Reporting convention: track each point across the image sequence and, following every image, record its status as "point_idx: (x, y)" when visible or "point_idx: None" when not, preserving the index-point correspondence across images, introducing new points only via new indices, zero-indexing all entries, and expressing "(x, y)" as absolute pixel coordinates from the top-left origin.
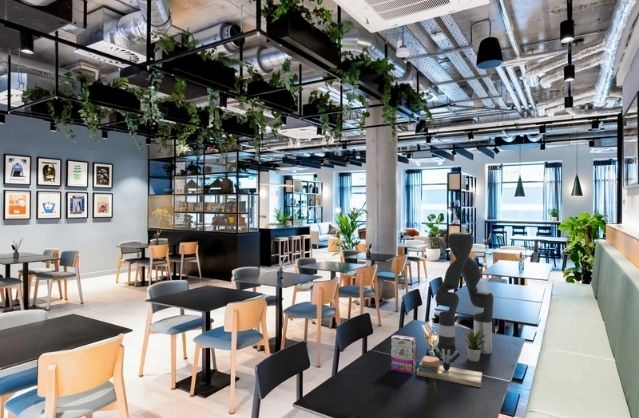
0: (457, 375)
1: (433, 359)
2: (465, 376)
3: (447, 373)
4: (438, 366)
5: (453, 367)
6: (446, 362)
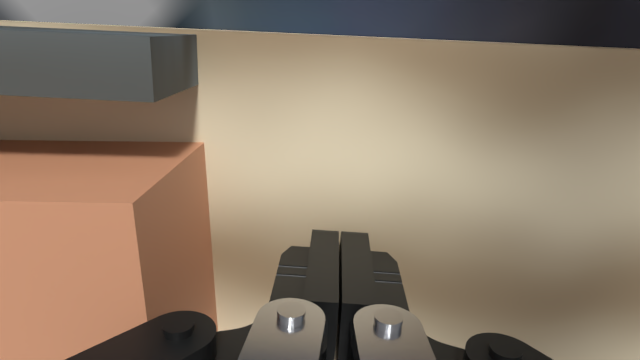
0: None
1: (23, 358)
2: (634, 346)
3: None
4: None
5: (451, 48)
6: (334, 356)
